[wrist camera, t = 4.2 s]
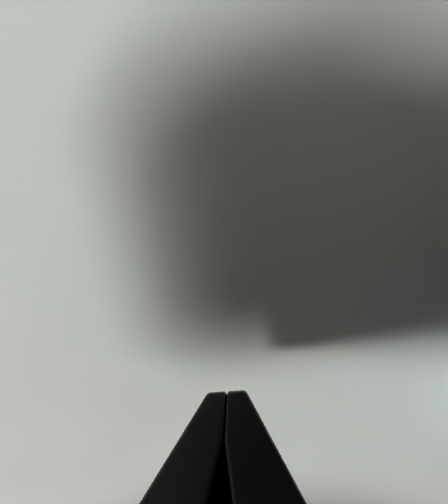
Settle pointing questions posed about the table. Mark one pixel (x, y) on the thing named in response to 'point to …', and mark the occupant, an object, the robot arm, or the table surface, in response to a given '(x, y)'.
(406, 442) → the table surface
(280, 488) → the robot arm
